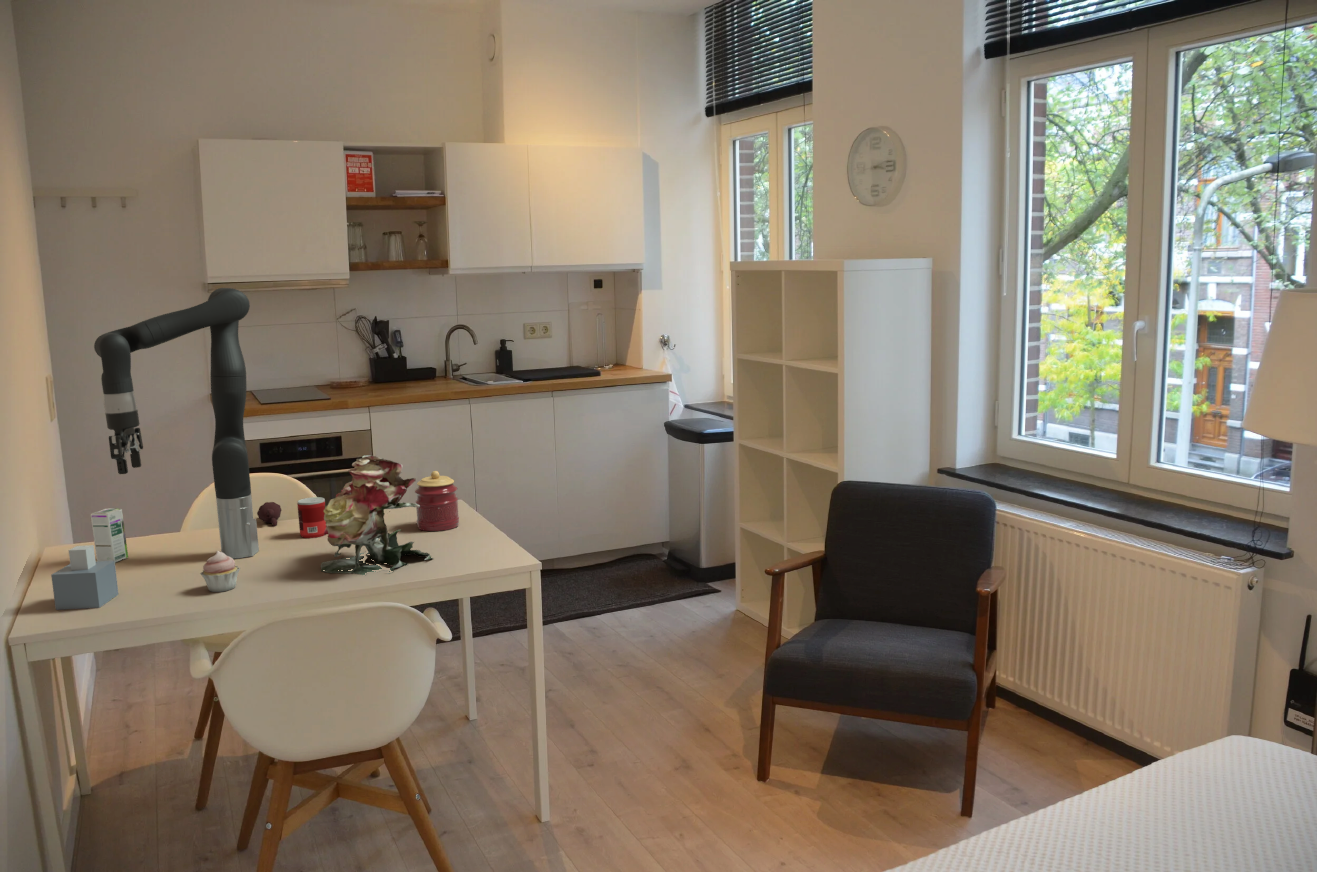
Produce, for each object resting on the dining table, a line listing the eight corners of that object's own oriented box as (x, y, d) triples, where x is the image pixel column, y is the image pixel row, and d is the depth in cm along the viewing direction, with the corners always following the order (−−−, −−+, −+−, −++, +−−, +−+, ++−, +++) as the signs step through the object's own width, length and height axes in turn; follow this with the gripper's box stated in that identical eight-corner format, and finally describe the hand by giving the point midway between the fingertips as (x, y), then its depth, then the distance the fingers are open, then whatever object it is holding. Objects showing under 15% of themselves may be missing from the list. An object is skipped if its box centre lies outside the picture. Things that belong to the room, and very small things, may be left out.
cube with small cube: (118, 594, 254) (112, 541, 252) (99, 607, 244) (92, 552, 242) (76, 596, 253) (69, 543, 251) (55, 609, 243) (48, 554, 241)
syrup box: (114, 563, 282) (108, 513, 279) (96, 562, 283) (89, 512, 281) (128, 557, 287) (123, 508, 285) (110, 557, 289) (104, 507, 286)
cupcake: (214, 582, 262) (210, 545, 260) (248, 583, 261) (244, 545, 259) (194, 594, 253) (190, 555, 251) (229, 594, 252) (225, 555, 250)
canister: (426, 521, 321) (422, 466, 318) (465, 521, 320) (462, 466, 317) (410, 531, 309) (406, 475, 306) (451, 532, 307) (448, 475, 304)
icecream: (251, 500, 328) (257, 513, 315) (274, 492, 331) (280, 505, 318) (259, 519, 331) (264, 533, 318) (281, 511, 334) (288, 524, 321)
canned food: (332, 533, 309) (330, 498, 307) (311, 539, 302) (308, 503, 300) (316, 530, 313) (313, 495, 311) (294, 536, 306) (291, 501, 304)
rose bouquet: (361, 546, 293) (354, 445, 288) (443, 556, 281) (436, 450, 276) (295, 571, 271) (286, 461, 266) (380, 583, 258) (372, 468, 253)
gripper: (124, 412, 256) (133, 475, 259) (147, 405, 270) (155, 464, 273) (93, 414, 256) (103, 477, 259) (117, 406, 270) (126, 466, 272)
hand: (130, 470), depth 266 cm, fingers open, 8 cm apart
